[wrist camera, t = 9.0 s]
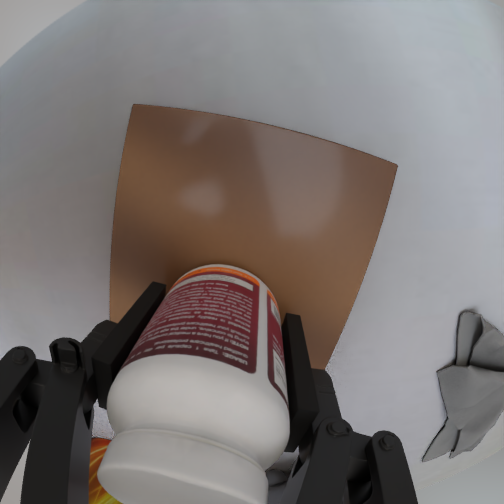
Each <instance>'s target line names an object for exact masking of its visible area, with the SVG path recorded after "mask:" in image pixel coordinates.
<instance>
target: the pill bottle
mask: <svg viewBox="0 0 504 504" xmlns="http://www.w3.org/2000/svg"><path fill="white" fill-rule="evenodd" d="M107 414H108V418H109V422H110V424H111V427H112V429H113V431H114V432H115V434H116V436H115V437H114V438H113V439H112V441H111V442H110V443H109V445H108V447H107V450H106V452H105V454H104V457H103V459H102V461H101V464H100V466H99V468H98V471H97V477H98V480H99V482H100V484H101V485H102V487H103V488H104V489H105V490H106V491H107V492H108V493H109V494H110V495H111V496H113V497H114V498H115V499H117V500H118V501H120V502H121V503H123V504H267V503H268V479H267V477H266V473H265V470H266V469H268V468H269V467H271V466H272V465H273V464H274V463H275V462H276V461H277V460H278V459H279V458H280V456H281V455H282V454H283V452H284V450H285V448H286V446H287V443H288V440H289V435H290V417H289V406H288V395H287V383H286V372H285V361H284V350H283V339H282V331H281V320H280V313H279V308H278V305H277V302H276V300H275V298H274V296H273V294H272V292H271V291H270V290H269V288H268V287H267V286H266V285H265V284H264V283H263V282H262V281H261V280H260V279H259V278H257V277H256V276H255V275H253V274H251V273H250V272H248V271H245V270H243V269H240V268H238V267H234V266H230V265H222V264H213V265H206V266H202V267H198V268H196V269H193V270H191V271H189V272H188V273H186V274H184V275H183V276H182V277H181V278H180V279H178V280H177V281H176V283H175V284H174V285H173V286H172V287H171V289H170V290H169V292H168V293H167V295H166V296H165V298H164V300H163V301H162V303H161V304H160V306H159V307H158V309H157V310H156V312H155V313H154V315H153V317H152V318H151V320H150V321H149V323H148V324H147V326H146V328H145V329H144V331H143V332H142V334H141V336H140V337H139V339H138V341H137V342H136V344H135V345H134V347H133V349H132V351H131V352H130V354H129V356H128V357H127V359H126V361H125V362H124V364H123V366H122V367H121V369H120V370H119V372H118V374H117V376H116V378H115V380H114V382H113V384H112V385H111V388H110V390H109V394H108V397H107Z"/></svg>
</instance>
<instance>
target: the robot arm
mask: <svg viewBox="0 0 504 504" xmlns="http://www.w3.org/2000/svg"><path fill="white" fill-rule="evenodd" d="M165 293H166V284H162V283H158V282H154V281H153V282H152V283H151V284H150V285H149V286H148V287H147V289H146V290H145V291H144V292H143V293H142V295H141V296H140V297H139V298H138V299H137V300H136V302H135V303H134V304H133V305H132V307H131V308H130V309H129V310H128V311H127V313H126V314H125V315H124V316H123V318H122V319H121V320H120V321H119V322H118V323H115V322H112V321H109V320H105V321H103V322H101V323H99V324H97V325H96V326H95V328H94V329H93V330H92V332H90V333H89V334H88V335H87V337H86V338H85V339H84V340H83V341H82V342H81V343H80V342H78V341H77V340H75V339H72V338H59V339H56V340H54V341H53V342H52V343H51V344H50V345H49V348H50V353H51V358H52V362H50V361H44V360H39V359H36V356H35V354H34V352H33V350H31V349H30V348H28V347H24V346H18V347H15V348H12V349H11V350H10V351H8V352H7V353H6V355H5V356H4V357H3V358H2V359H1V360H0V502H1V499H2V497H3V494H4V492H5V490H6V488H7V486H8V483H9V481H10V479H11V477H12V475H13V473H14V471H15V468H16V466H17V465H18V462H19V460H20V458H21V457H22V454H23V452H24V451H25V449H26V447H27V445H28V443H29V441H30V444H29V449H28V454H27V459H26V465H25V471H24V477H23V484H22V493H21V502H20V504H89V466H90V450H91V438H92V428H93V419H94V408H93V405H94V403H95V402H96V400H97V398H98V403H99V407H101V408H104V409H106V410H107V397H108V394H109V390H110V388H111V385H112V384H113V382H114V380H115V378H116V376H117V374H118V372H119V370H120V369H121V367H122V366H123V364H124V362H125V361H126V359H127V357H128V356H129V354H130V352H131V351H132V349H133V347H134V345H135V344H136V342H137V341H138V339H139V337H140V336H141V334H142V332H143V331H144V329H145V328H146V326H147V324H148V323H149V321H150V320H151V318H152V317H153V315H154V313H155V312H156V310H157V309H158V307H159V306H160V304H161V303H162V301H163V300H164V298H165ZM281 331H282V339H283V350H284V361H285V372H286V383H287V395H288V406H289V417H290V435H289V440H288V443H287V446H286V448H285V450H284V452H294V451H295V450H296V448H297V447H298V445H299V455H298V457H297V458H296V460H295V461H294V462H293V464H292V465H291V467H290V468H289V469H291V470H292V471H291V474H290V476H289V479H288V482H287V485H286V487H285V490H284V492H283V495H282V498H281V500H280V503H279V504H341V503H342V498H343V504H418V502H417V497H416V493H415V489H414V485H413V481H412V478H411V474H410V470H409V467H408V463H407V460H406V456H405V453H404V449H403V446H402V443H401V441H400V439H399V438H398V437H397V436H396V435H395V434H394V433H392V432H390V431H378V432H377V433H375V434H374V435H373V436H372V437H370V436H366V435H362V434H359V433H356V432H354V431H353V429H352V427H351V426H350V424H349V423H348V422H346V421H345V420H343V419H342V417H341V413H340V410H339V406H338V402H337V398H336V395H335V390H334V388H333V383H332V379H331V377H330V376H329V374H328V373H327V372H326V371H325V370H323V369H315V368H311V364H310V359H309V354H308V349H307V345H306V340H305V335H304V330H303V326H302V321H301V317H300V315H296V314H291V313H286V314H285V317H284V320H283V323H282V326H281ZM30 439H31V440H30Z"/></svg>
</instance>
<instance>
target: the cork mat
mask: <svg viewBox="0 0 504 504" xmlns="http://www.w3.org/2000/svg"><path fill="white" fill-rule="evenodd" d="M397 167H398V165H397V164H394V163H392V162H389V161H387V160H384V159H381V158H379V157H376V156H373V155H370V154H368V153H365V152H362V151H359V150H356V149H353V148H350V147H347V146H344V145H341V144H338V143H335V142H331V141H328V140H325V139H321V138H318V137H314V136H311V135H307V134H304V133H300V132H296V131H293V130H289V129H285V128H281V127H277V126H272V125H268V124H264V123H259V122H255V121H250V120H245V119H240V118H235V117H230V116H224V115H219V114H213V113H207V112H201V111H194V110H187V109H179V108H171V107H162V106H152V105H141V104H133V107H132V111H131V115H130V120H129V124H128V129H127V133H126V138H125V144H124V149H123V154H122V160H121V166H120V172H119V179H118V186H117V193H116V202H115V210H114V220H113V231H112V245H111V262H110V321H112V322H115V323H118V322H119V321H120V320H121V319H122V318H123V316H124V315H125V314H126V313H127V311H128V310H129V309H130V308H131V307H132V305H133V304H134V303H135V302H136V300H137V299H138V298H139V297H140V296H141V295H142V293H143V292H144V291H145V290H146V289H147V287H148V286H149V285H150V284H151V283H152V282H153V281H154V282H158V283H162V284H166V293H165V296H166V295H167V293H168V292H169V290H170V289H171V287H172V286H173V285H174V284H175V283H176V281H177V280H178V279H180V278H181V277H182V276H183V275H184V274H186V273H188V272H189V271H191V270H193V269H196V268H198V267H202V266H206V265H213V264H222V265H230V266H234V267H238V268H240V269H243V270H245V271H248V272H250V273H251V274H253V275H255V276H256V277H257V278H259V279H260V280H261V281H262V282H263V283H264V284H265V285H266V286H267V287H268V288H269V290H270V291H271V292H272V294H273V296H274V298H275V300H276V302H277V305H278V308H279V313H280V320H281V326H282V323H283V320H284V317H285V314H286V313H291V314H296V315H300V317H301V321H302V326H303V330H304V335H305V340H306V345H307V349H308V354H309V359H310V364H311V368H315V369H323V370H325V368H326V365H327V363H328V361H329V359H330V357H331V355H332V353H333V351H334V348H335V346H336V344H337V342H338V340H339V337H340V335H341V333H342V330H343V328H344V326H345V323H346V321H347V319H348V316H349V314H350V311H351V309H352V307H353V304H354V302H355V299H356V296H357V294H358V291H359V289H360V286H361V283H362V281H363V278H364V275H365V273H366V270H367V267H368V264H369V261H370V259H371V256H372V253H373V250H374V247H375V244H376V241H377V238H378V235H379V231H380V228H381V225H382V222H383V218H384V215H385V212H386V208H387V205H388V201H389V198H390V194H391V190H392V187H393V183H394V179H395V175H396V171H397Z"/></svg>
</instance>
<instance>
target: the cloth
mask: <svg viewBox="0 0 504 504" xmlns="http://www.w3.org/2000/svg"><path fill="white" fill-rule="evenodd" d="M437 373H438V378H439V382H440V387H441V392H442V396H443V400H444V403H445V407H446V411H447V414H448V419H447V421H446V423H445V427H444V428H443V429H442V430H441V431H440V433H439V434H438V435H437V437H436V438H435V439H434V441H433V442H432V444H431V446H430V447H429V449H428V451H427V452H426V454H425V456H424V458H423V460H422V462H426V461H429V460H432V459H434V458H437V457H439V456H442V455H444V454H446V453H447V452H449V451H450V450H452V449H455V450H452V451H451V455H450V459H451V458H453V457H455V456H457V455H458V454H460V453H462V452H465V451H472V450H473V449H474V448H475V447H476V446H477V445H478V444H479V443H480V442H481V440H482V439H483V437H484V436H485V434H486V433H487V432H488V431H489V430H490V429H491V428H492V427H493V426H494V425H495V423H496V421H497V420H498V418H499V416H500V414H501V413H502V412H503V410H504V336H503V335H502V334H501V333H500V332H499V331H498V330H497V329H496V328H494V327H493V326H492V325H490V324H489V323H487V322H486V321H484V320H483V317H482V315H480V314H476V313H472V312H467V311H465V312H464V313H463V314H461V315H460V320H459V327H458V333H457V360H456V366H455V365H452V366H449V367H447V368H444V369H442V370H439V371H437Z"/></svg>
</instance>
